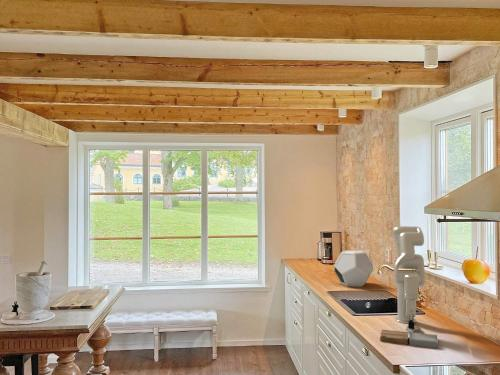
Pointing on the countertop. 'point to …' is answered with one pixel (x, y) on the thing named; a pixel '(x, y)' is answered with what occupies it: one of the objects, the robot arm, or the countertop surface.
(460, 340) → the countertop surface
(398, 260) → the robot arm
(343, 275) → the dodecahedron
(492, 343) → the countertop surface
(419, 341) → the slate stand
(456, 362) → the countertop surface
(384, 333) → the walnut stand
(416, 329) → the stone
